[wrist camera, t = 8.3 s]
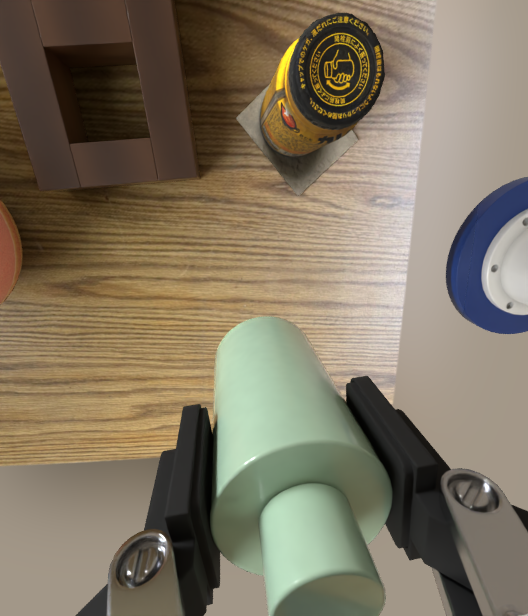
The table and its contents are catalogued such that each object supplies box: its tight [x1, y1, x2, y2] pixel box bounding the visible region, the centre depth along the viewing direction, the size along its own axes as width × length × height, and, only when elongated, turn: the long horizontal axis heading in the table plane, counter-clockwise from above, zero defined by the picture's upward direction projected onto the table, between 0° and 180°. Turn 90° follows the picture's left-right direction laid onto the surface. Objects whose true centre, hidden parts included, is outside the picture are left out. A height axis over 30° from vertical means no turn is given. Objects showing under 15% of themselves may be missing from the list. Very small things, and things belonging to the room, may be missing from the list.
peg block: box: [0, 0, 200, 191], centre depth 23 cm, size 12×21×4 cm, turn 5°
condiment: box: [236, 13, 385, 196], centre depth 23 cm, size 7×8×12 cm
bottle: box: [209, 317, 393, 616], centre depth 11 cm, size 5×5×10 cm
